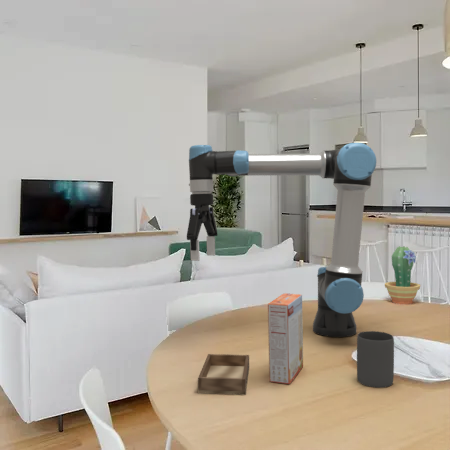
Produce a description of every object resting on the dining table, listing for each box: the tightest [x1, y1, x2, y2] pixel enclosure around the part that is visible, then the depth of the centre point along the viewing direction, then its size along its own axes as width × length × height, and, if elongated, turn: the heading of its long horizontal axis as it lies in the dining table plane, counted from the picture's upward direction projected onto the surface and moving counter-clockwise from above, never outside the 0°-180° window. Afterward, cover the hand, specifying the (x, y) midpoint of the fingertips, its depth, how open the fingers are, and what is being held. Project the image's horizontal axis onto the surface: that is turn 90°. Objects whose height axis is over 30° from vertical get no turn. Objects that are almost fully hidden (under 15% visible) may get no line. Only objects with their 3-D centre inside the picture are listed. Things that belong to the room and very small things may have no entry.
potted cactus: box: [384, 245, 421, 305], centre depth 222 cm, size 15×15×25 cm
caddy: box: [197, 353, 250, 395], centre depth 130 cm, size 12×19×4 cm, turn 174°
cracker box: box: [267, 292, 304, 385], centre depth 133 cm, size 14×6×21 cm, turn 156°
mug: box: [356, 330, 395, 389], centre depth 130 cm, size 14×9×12 cm
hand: (203, 258), depth 163 cm, fingers open, 13 cm apart
